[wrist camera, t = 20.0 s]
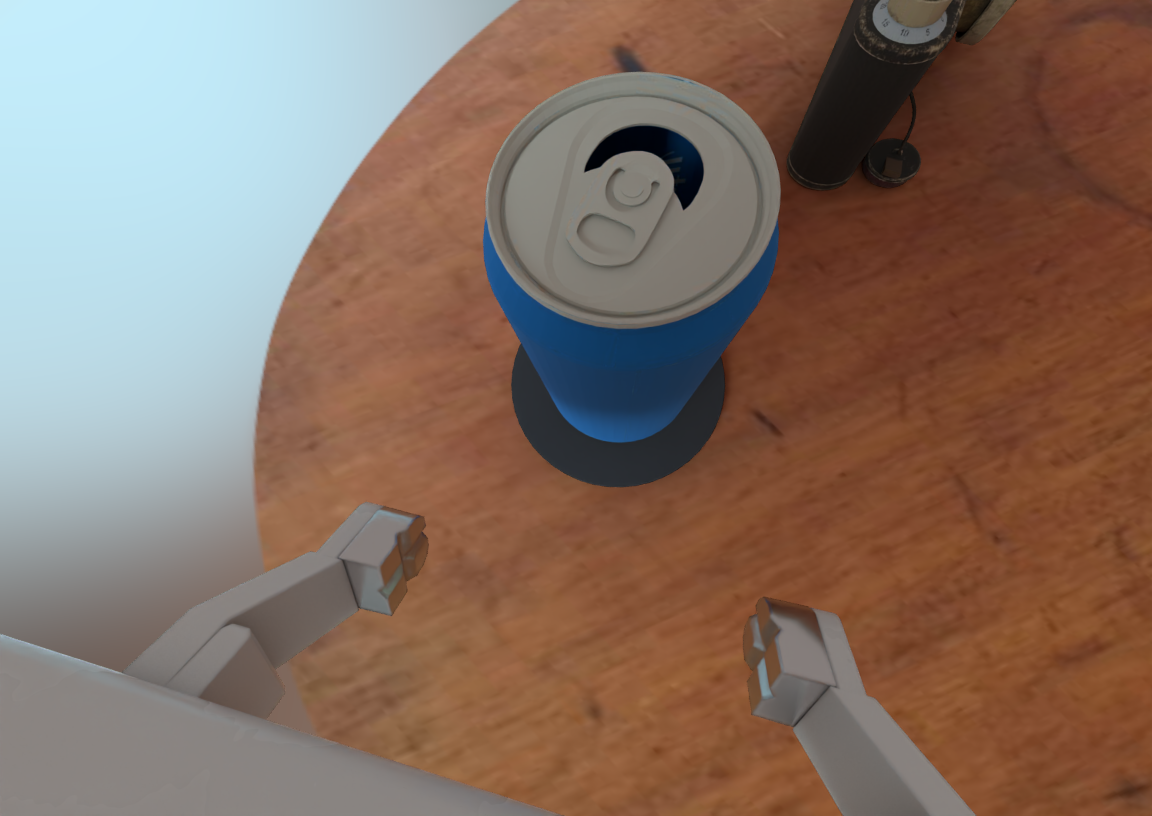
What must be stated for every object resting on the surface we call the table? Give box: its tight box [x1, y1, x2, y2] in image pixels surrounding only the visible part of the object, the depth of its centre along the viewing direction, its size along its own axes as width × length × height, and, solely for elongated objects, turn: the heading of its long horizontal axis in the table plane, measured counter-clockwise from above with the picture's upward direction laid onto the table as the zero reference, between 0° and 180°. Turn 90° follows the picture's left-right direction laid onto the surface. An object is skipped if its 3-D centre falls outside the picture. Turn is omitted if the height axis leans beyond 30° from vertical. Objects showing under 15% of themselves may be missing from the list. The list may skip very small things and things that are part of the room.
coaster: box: [511, 344, 725, 487], centre depth 20 cm, size 10×10×1 cm
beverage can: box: [483, 72, 781, 442], centre depth 14 cm, size 6×6×12 cm
